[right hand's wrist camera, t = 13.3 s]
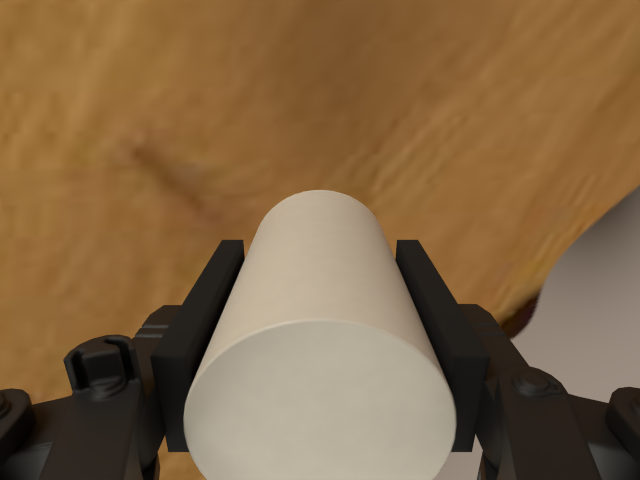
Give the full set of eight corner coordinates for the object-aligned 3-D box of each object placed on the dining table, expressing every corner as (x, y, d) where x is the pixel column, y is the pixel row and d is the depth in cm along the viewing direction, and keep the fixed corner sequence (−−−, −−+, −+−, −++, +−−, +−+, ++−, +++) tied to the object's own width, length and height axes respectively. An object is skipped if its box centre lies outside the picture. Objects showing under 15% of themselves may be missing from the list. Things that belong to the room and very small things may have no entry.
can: (317, 332, 18) (315, 557, 9) (226, 251, 16) (126, 431, 8) (413, 256, 17) (512, 440, 8) (323, 160, 15) (327, 260, 7)
